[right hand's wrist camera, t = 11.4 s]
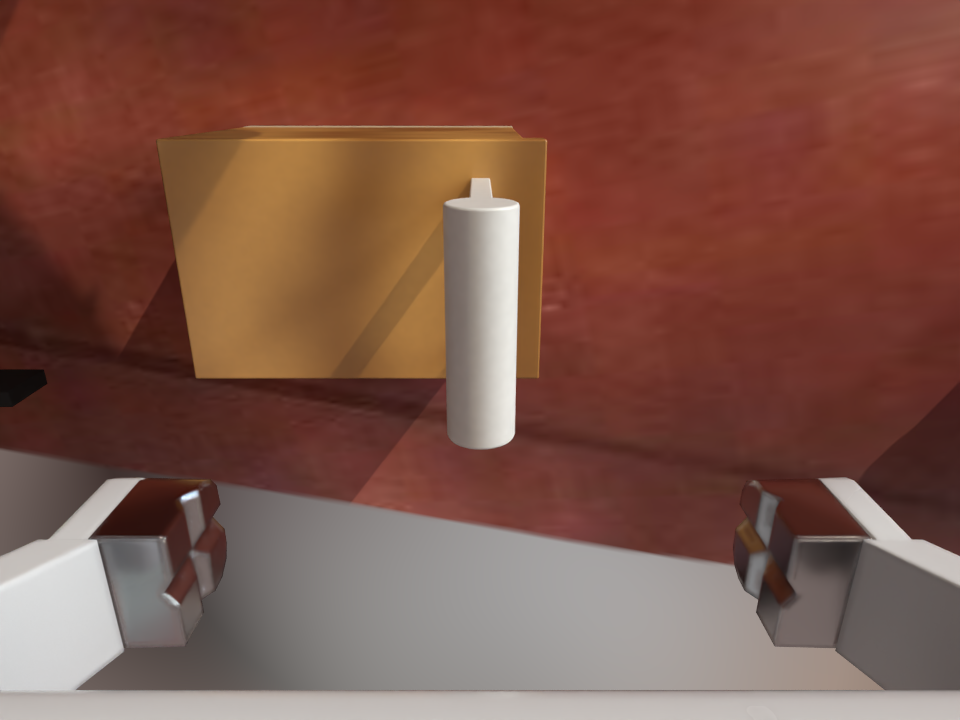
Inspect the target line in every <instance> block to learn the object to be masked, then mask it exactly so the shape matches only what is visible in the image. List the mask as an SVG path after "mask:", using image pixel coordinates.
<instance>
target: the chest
mask: <svg viewBox="0 0 960 720" xmlns="http://www.w3.org/2000/svg"><path fill="white" fill-rule="evenodd" d="M169 138H522V137H521V136H520V135H519V134H518V133H517V132H516V131H515V130H514V129H513V127H512V126H247V127H243V128H235V129H228V130H221V131H213V132H206V133H199V134H191V135H184V136H177V137H169Z"/></svg>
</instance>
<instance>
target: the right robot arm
mask: <svg viewBox="0 0 960 720" xmlns="http://www.w3.org/2000/svg"><path fill="white" fill-rule="evenodd" d="M219 506H220V500H219V495H218V490H217V486H216V484H215V483H214V482H213V481H212V480H211V479H168V478H147V479H145V478H114V479H109V480H106V481H105V482H104V483H103V484H102V485H101V486H100V487H99V488H98V490H96V491H95V492H94V494H93V495H92V496H91V497H90V498H89V499H88V500H87V501H86V502H85V503H84V504H83V505H82V506H81V507H80V508H79V509H78V510H77V511H76V512H75V513H74V514H73V515H72V516H71V517H70V518H69V519H68V520H67V521H66V522H65V523H64V524H63V525H62V526H61V527H60V528H59V529H58V530H57V531H56V532H55V533H54V534H53V535H52V536H51V537H50V538H49V539H48V540H35V541H33V542H31V543H29V544H26V545H24V546H22V547H20V548H18V549H15V550H13V551H11V552H9V553H6V554H4V555H2V556H0V720H960V556H958V555H956V554H954V553H951V552H949V551H947V550H945V549H942V548H940V547H938V546H936V545H934V544H931V543H929V542H927V541H925V540H912V539H911V538H910V537H909V536H908V535H907V534H906V533H905V532H904V531H903V530H902V529H901V528H900V527H899V526H898V525H897V524H896V523H895V522H894V521H893V520H892V519H891V518H890V517H889V516H888V515H887V514H886V513H885V512H884V511H883V510H882V509H881V508H880V507H879V506H878V505H877V504H876V503H875V501H874V500H873V499H872V498H871V497H870V496H869V495H868V494H867V493H866V492H865V491H864V490H863V489H862V488H861V487H860V486H859V485H858V484H857V483H856V482H855V481H854V480H851V479H848V478H846V477H842V478H816V479H778V480H748V481H746V483H745V485H744V487H743V489H742V494H741V499H740V506H741V507H742V509H743V510H744V512H745V514H746V515H747V518H746V519H745V520H744V521H743V522H742V523H741V524H740V525H739V526H738V527H737V528H736V529H735V537H734V544H733V552H734V564H735V568H736V572H737V575H738V578H739V580H740V582H741V584H742V586H743V588H744V590H745V591H746V592H747V593H749V594H750V595H752V596H754V597H755V598H757V599H758V605H757V611H756V613H757V615H758V616H759V618H760V620H761V622H762V624H763V626H764V627H765V629H766V631H767V633H768V635H769V637H770V638H771V640H772V642H773V644H774V646H779V647H815V648H836V652H838V653H839V654H840V655H841V656H843V657H844V658H845V659H846V660H848V661H849V662H850V663H852V664H853V665H854V666H855V667H857V668H858V669H859V670H860V671H862V672H863V673H864V674H866V675H867V676H868V677H869V678H871V679H872V680H873V681H874V682H876V683H877V684H878V685H879V686H881V687H882V688H883V689H884V690H76V689H77V688H78V687H79V686H81V685H82V684H83V683H85V682H86V681H87V680H88V679H90V678H91V677H92V676H93V675H95V674H96V673H97V672H98V671H100V670H101V669H102V668H104V667H105V666H106V665H107V664H109V663H110V662H111V661H113V660H114V659H115V658H116V657H118V656H119V655H120V654H121V653H123V652H124V648H144V647H179V646H186V644H187V642H188V640H189V639H190V637H191V635H192V633H193V631H194V629H195V627H196V626H197V624H198V622H199V620H200V618H201V616H202V615H203V613H204V611H203V605H202V599H203V598H205V597H206V596H208V595H210V594H211V593H213V592H214V591H215V590H216V588H217V586H218V584H219V582H220V580H221V578H222V576H223V571H224V567H225V562H226V551H227V550H226V549H227V542H226V536H225V529H224V528H223V527H222V526H221V525H220V524H219V523H218V522H217V521H216V520H215V519H214V518H213V515H214V514H215V512H216V510H217V509H218V507H219Z"/></svg>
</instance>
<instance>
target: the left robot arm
mask: <svg viewBox="0 0 960 720" xmlns="http://www.w3.org/2000/svg"><path fill="white" fill-rule="evenodd" d="M46 384H47V380H46V376H45V373H44V370H0V407H13V406H14V405H16V404H17V403H19V402H20V401H22V400H23V399H25V398H26V397H28V396H29V395H31V394H32V393H34V392H35V391H37V390H38V389H40V388H41V387H43V386H44V385H46Z"/></svg>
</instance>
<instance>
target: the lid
mask: <svg viewBox="0 0 960 720" xmlns="http://www.w3.org/2000/svg"><path fill="white" fill-rule="evenodd" d="M156 144H157V150H158V156H159V162H160V168H161V174H162V180H163V185H164V191H165V197H166V203H167V209H168V215H169V221H170V227H171V233H172V239H173V245H174V251H175V257H176V263H177V269H178V275H179V281H180V287H181V293H182V299H183V305H184V311H185V317H186V323H187V329H188V335H189V341H190V347H191V353H192V359H193V365H194V371H195V377H196V378H446V395H447V434H448V437H449V438H450V440H451V441H452V442H454V443H455V444H457V445H459V446H462V447H465V448H470V449H492V448H497V447H500V446H503V445H505V444H507V443H509V442H510V441H511V440H512V438H513V437H514V434H515V398H516V378H538V377H539V356H540V328H541V300H542V271H543V243H544V215H545V187H546V159H547V140H546V139H544V138H162V139H157V140H156Z"/></svg>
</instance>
